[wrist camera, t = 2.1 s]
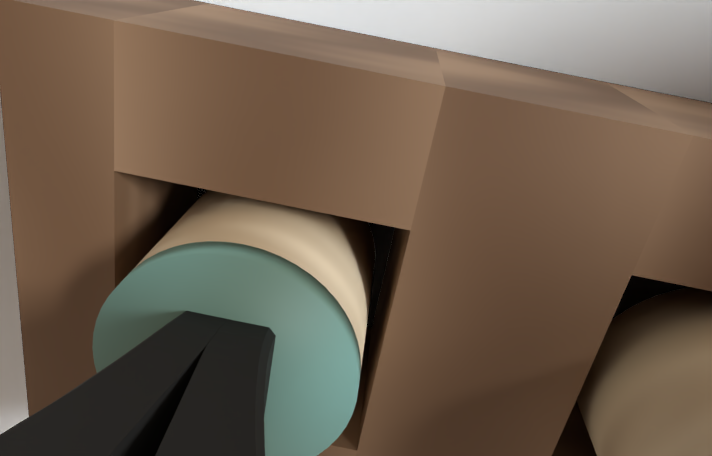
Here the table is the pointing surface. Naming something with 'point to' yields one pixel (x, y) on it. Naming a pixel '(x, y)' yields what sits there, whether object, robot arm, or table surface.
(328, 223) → the peg
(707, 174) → the walnut block
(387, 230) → the table surface
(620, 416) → the peg
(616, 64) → the table surface
